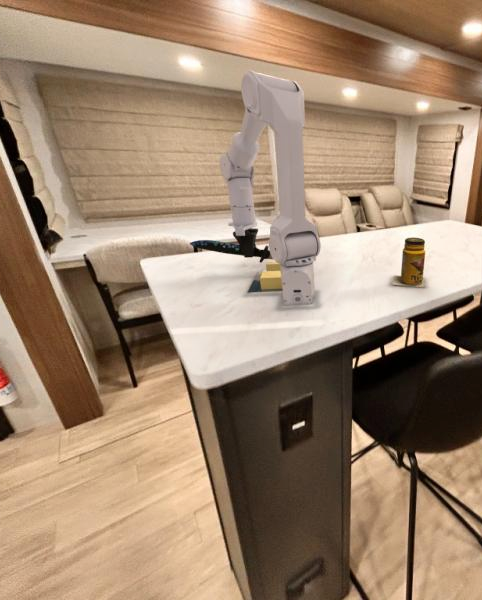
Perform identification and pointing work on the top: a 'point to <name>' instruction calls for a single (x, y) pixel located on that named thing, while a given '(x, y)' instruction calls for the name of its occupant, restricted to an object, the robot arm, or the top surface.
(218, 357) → the top surface
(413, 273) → the condiment
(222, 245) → the knife
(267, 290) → the butter dish
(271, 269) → the butter pat
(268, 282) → the yellow rectangular block
